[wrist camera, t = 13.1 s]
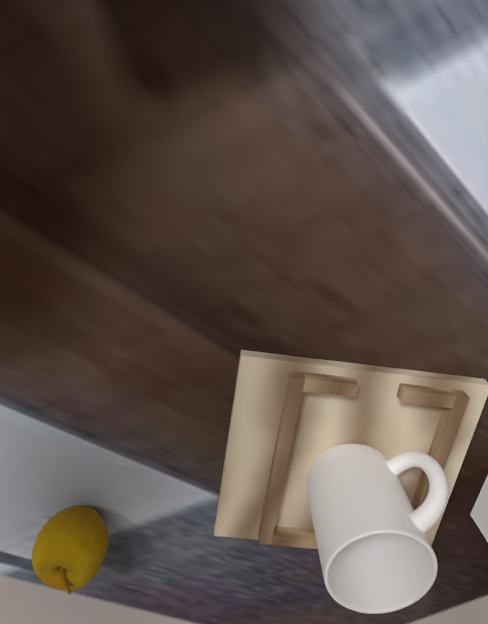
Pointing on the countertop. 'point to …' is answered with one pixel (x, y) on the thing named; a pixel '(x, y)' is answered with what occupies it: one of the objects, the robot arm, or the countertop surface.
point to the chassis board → (332, 435)
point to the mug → (374, 526)
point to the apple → (70, 548)
